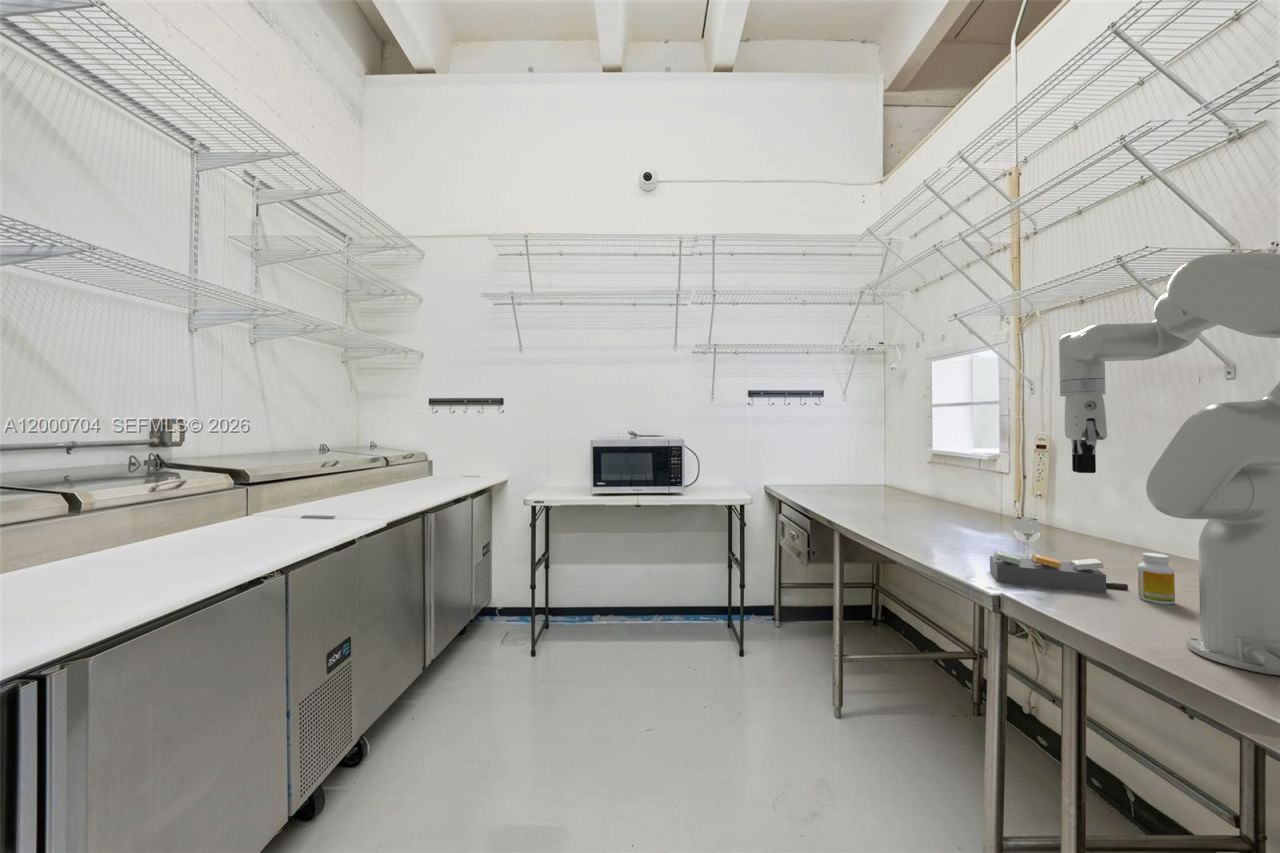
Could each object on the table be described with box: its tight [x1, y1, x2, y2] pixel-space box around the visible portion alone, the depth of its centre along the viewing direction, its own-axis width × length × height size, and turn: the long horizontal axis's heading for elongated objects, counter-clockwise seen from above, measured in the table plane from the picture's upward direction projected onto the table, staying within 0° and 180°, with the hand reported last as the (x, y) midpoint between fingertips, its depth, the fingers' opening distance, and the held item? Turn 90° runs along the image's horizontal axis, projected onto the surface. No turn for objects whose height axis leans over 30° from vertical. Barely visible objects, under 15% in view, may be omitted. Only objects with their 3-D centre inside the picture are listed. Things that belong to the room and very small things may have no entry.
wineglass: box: [1013, 516, 1041, 559], centre depth 137 cm, size 6×6×12 cm
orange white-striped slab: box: [1030, 553, 1061, 568], centre depth 119 cm, size 4×5×1 cm
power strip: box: [989, 555, 1129, 594], centre depth 119 cm, size 10×25×4 cm, turn 63°
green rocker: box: [993, 550, 1021, 565], centre depth 122 cm, size 4×5×1 cm
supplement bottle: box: [1137, 552, 1176, 605], centre depth 106 cm, size 5×5×10 cm
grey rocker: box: [1070, 558, 1104, 570], centre depth 115 cm, size 4×5×1 cm
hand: (1083, 471), depth 110 cm, fingers closed
